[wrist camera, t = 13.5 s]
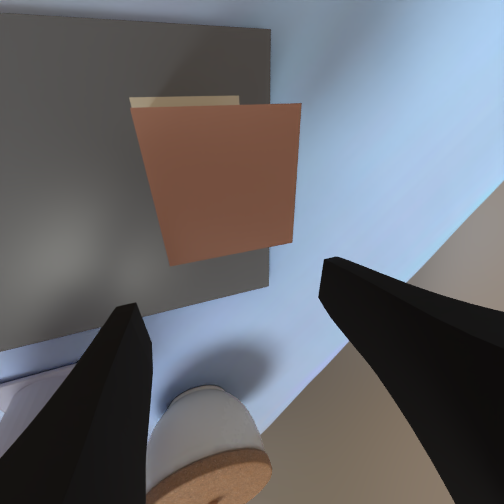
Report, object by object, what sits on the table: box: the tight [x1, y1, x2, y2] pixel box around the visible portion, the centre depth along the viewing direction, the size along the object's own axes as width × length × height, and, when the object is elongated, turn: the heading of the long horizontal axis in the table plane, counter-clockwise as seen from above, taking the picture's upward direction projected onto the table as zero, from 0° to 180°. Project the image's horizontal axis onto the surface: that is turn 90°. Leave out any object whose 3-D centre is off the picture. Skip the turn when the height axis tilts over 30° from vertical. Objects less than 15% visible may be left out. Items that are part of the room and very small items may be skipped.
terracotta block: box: [130, 103, 302, 266], centre depth 9 cm, size 4×4×4 cm
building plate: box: [0, 13, 271, 352], centre depth 15 cm, size 18×22×1 cm
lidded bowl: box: [146, 385, 272, 504], centre depth 25 cm, size 13×13×11 cm
